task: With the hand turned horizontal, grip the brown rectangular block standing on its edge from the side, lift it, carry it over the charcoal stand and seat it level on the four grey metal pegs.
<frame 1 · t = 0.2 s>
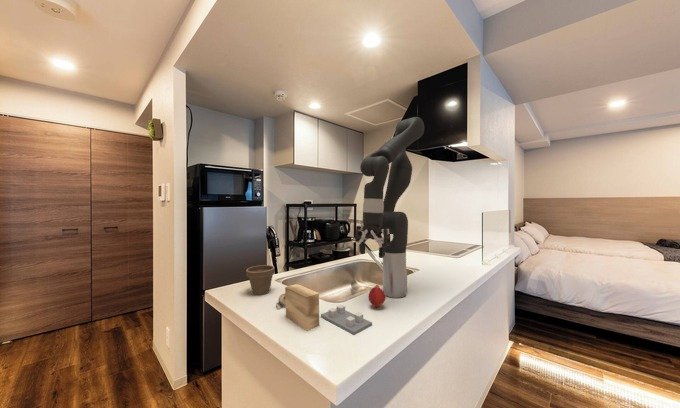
hand: (371, 255, 92), 18 cm above the table, tool pointing down, fingers open, 8 cm apart
vase: (284, 306, 91), on the table
brown rectangular block: (301, 321, 79), on the table
peg stand: (345, 320, 79), on the table
flower pot: (260, 292, 105), on the table
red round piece: (376, 307, 89), on the table
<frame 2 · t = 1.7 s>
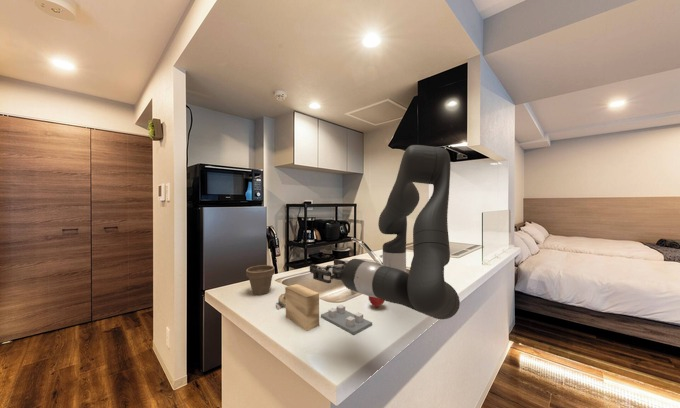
hand: (323, 265, 71), 20 cm above the table, tool horizontal, fingers open, 8 cm apart
nothing on the table moved.
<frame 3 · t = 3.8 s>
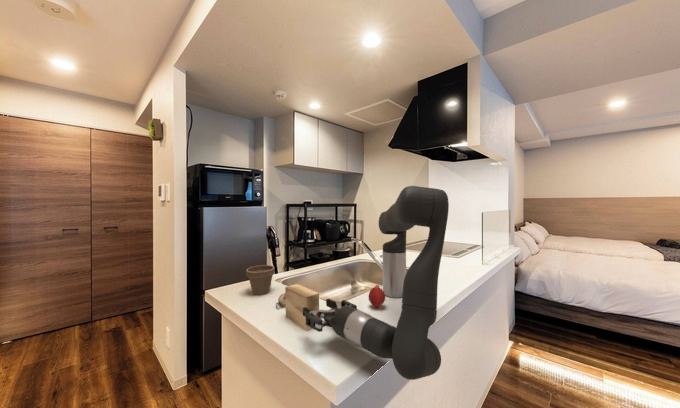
hand: (315, 306, 74), 7 cm above the table, tool horizontal, fingers open, 8 cm apart
nothing on the table moved.
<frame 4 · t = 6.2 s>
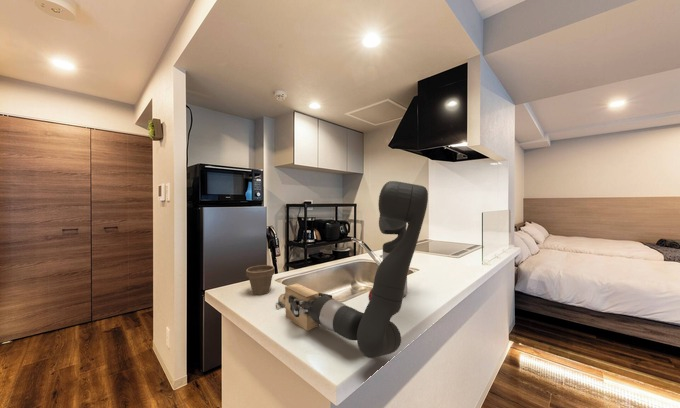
hand: (296, 296, 81), 7 cm above the table, tool horizontal, fingers closed on brown rectangular block, 4 cm apart
brown rectangular block: (301, 321, 79), on the table, touching gripper
everything else where it was.
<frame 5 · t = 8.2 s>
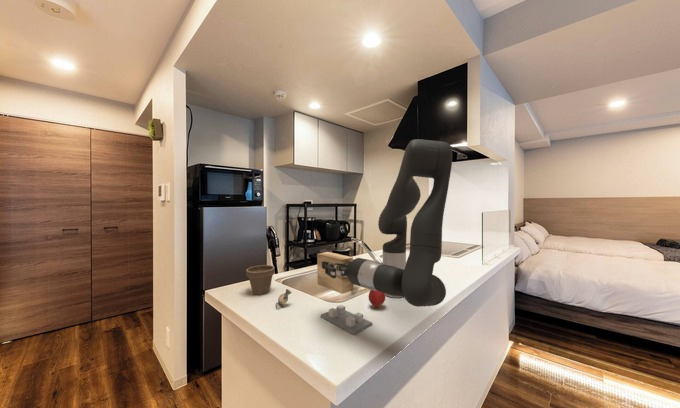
hand: (329, 263, 81), 18 cm above the table, tool horizontal, fingers closed on brown rectangular block, 4 cm apart
brown rectangular block: (334, 287, 79), point 11 cm above the table, touching gripper
everything else where it was.
when the fingers open (11 cm above the table, at t = 10.6 s): brown rectangular block stays where it is, resting on peg stand.
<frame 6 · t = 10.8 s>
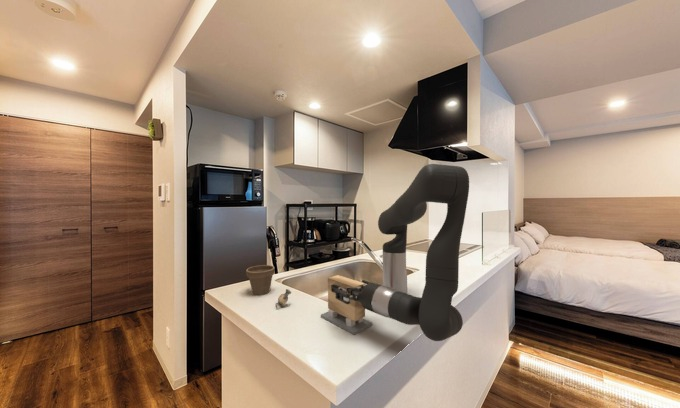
hand: (340, 285, 80), 11 cm above the table, tool horizontal, fingers open, 6 cm apart
brown rectangular block: (345, 312, 79), point 3 cm above the table, touching peg stand
everything else where it was.
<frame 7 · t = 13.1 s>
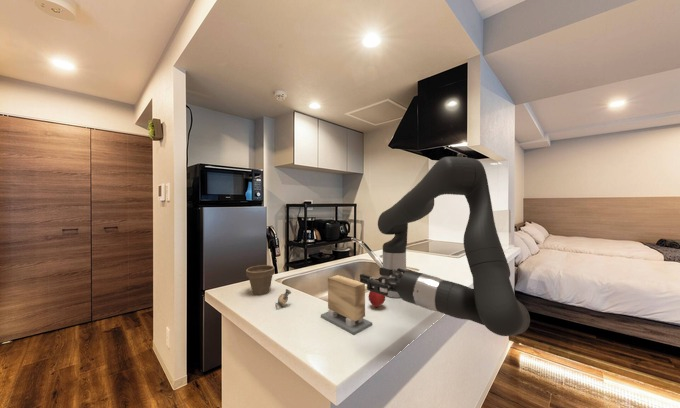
hand: (370, 274, 71), 17 cm above the table, tool horizontal, fingers open, 8 cm apart
nothing on the table moved.
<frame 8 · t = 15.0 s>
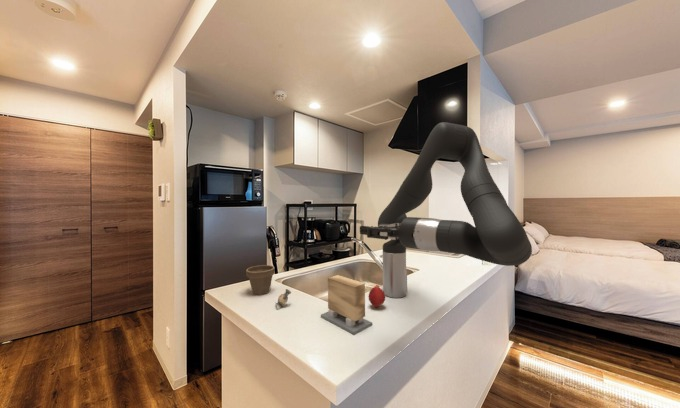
hand: (370, 228, 71), 30 cm above the table, tool horizontal, fingers open, 8 cm apart
nothing on the table moved.
at the end: brown rectangular block inside the target area on the peg stand (0.2 cm from its centre), point 2.8 cm above the peg stand's base; brown rectangular block tilted 0°; the gripper is holding nothing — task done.
